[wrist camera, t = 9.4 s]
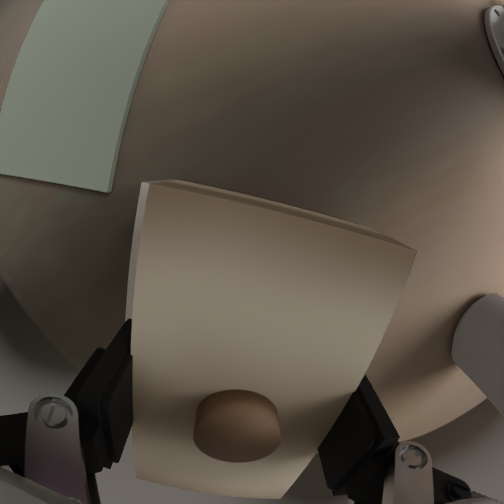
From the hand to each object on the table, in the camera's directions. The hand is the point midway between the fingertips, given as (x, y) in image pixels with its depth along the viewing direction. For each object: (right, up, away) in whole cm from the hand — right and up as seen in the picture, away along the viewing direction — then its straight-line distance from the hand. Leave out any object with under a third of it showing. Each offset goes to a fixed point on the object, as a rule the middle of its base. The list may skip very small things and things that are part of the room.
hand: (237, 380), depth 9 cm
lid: (0, 0, +1) cm, 1 cm away
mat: (-12, +17, +4) cm, 21 cm away
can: (+21, -2, +11) cm, 24 cm away
